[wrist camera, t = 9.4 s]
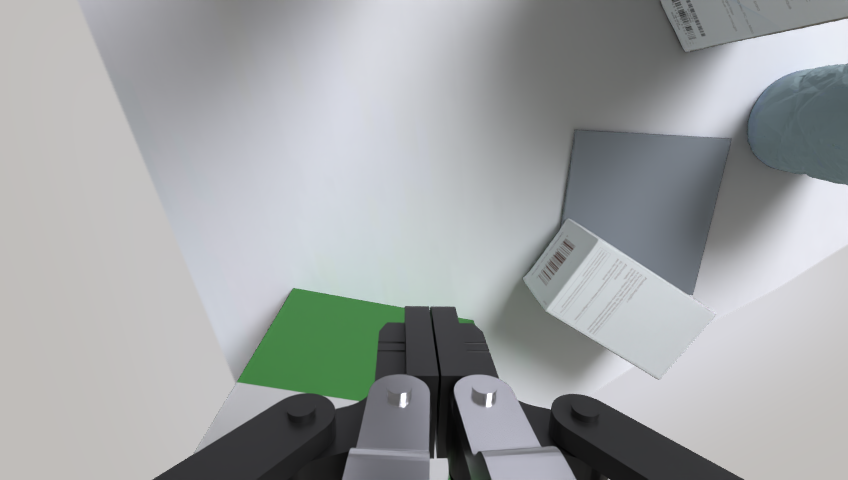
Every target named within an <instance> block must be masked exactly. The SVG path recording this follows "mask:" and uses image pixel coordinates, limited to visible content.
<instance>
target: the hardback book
mask: <svg viewBox="0 0 848 480" xmlns="http://www.w3.org/2000/svg"><path fill="white" fill-rule="evenodd" d="M404 315H405V308H401V307H396V306H390V305H385V304H379V303H374V302H368V301H363V300H357V299H351V298H346V297H340V296H335V295H329V294H324V293H318V292H312V291H307V290H301V289H296V288H293V290H292V291H291V293H290V295H289V296H288V298H287V300H286V301H285V303H284V305H283V306H282V308H281V310H280V311H279V313H278V314H277V316H276V318H275V319H274V321H273V323H272V324H271V326H270V328H269V329H268V331H267V333H266V334H265V336H264V338H263V339H262V341H261V343H260V344H259V346H258V348H257V349H256V351H255V353H254V354H253V356H252V358H251V359H250V361H249V363H248V364H247V366H246V368H245V369H244V371H243V373H242V374H241V376H240V378H239V379H238V381H237V383H236V384H235V386H234V388H233V389H232V391H231V393H230V394H229V396H228V397H227V399H226V401H225V402H224V404H223V406H222V407H221V409H220V411H219V412H218V414H217V416H216V417H215V419H214V421H213V423H212V424H211V426H210V427H209V429H208V431H207V432H206V434H205V436H204V437H203V439H202V441H201V442H200V444H199V446H198V447H197V449H196V451H195V452H194V454H195V453H197V452H198V451H200V450H201V449H203V448H205V447H206V446H208V445H209V444H211V443H213V442H214V441H216V440H218V439H219V438H221V437H222V436H224V435H226V434H227V433H229V432H231V431H232V430H234V429H235V428H237V427H239V426H240V425H242V424H244V423H245V422H247V421H248V420H250V419H252V418H253V417H255V416H257V415H258V414H260V413H261V412H263V411H265V410H266V409H268V408H269V407H271V406H273V405H274V404H276V403H278V402H279V401H281V400H283V399H285V398H287V397H289V396H293V395H296V394H302V393H314V394H319V395H322V396H325V397H327V398H328V399H329V400H331V402H332V403H333V404H334V406H335V409H337V408H341V407H345V406H349V405H352V404H355V403H357V402H359V401H361V400H363V399H364V398H366V397H367V396H368V393H369V390H370V387H371V386H372V384H373V383H374V382H375V371H376V360H377V349H378V337H379V331H380V330H381V328H382V327H383V326H384V325H385V324H386V323H387V322H400V323H404ZM458 320H459V323H473V324H474V321H473V320H468V319H463V318H458ZM474 325H475V324H474ZM448 468H449V467H448V459H447V458H437V456H436V446H435V450H434V459H430V475H429V480H448Z"/></svg>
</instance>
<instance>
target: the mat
mask: <svg viewBox="0 0 848 480" xmlns="http://www.w3.org/2000/svg"><path fill="white" fill-rule="evenodd" d="M730 143H731V139H729V138H712V137H694V136H676V135H659V134H641V133H624V132H606V131H588V130H575V134H574V141H573V148H572V154H571V161H570V168H569V174H568V181H567V188H566V195H565V201H564V208H563V215H562V221H561V227H562V225H563V224H564V222H565V221H566V220H567V219H568V218H569V219H571V220H573V221H575V222H576V223H578V224H579V225H581V226H582V227H584V228H586V229H587V230H589V231H590V232H592V233H593V234H595V235H597V236H598V237H600V238H601V239H603V240H604V241H606V242H607V243H609V244H610V245H612V246H613V247H615V248H616V249H618V250H620V251H621V252H623V253H624V254H626V255H627V256H629V257H630V258H632V259H633V260H635V261H636V262H638V263H639V264H641V265H643V266H644V267H646V268H647V269H649V270H650V271H652V272H653V273H655V274H657V275H658V276H660V277H661V278H663V279H664V280H666V281H667V282H669V283H670V284H672V285H674V286H675V287H677V288H678V289H680V290H681V291H683V292H685V293H686V294H688V295H693V292H694V288H695V284H696V280H697V276H698V272H699V268H700V264H701V260H702V256H703V252H704V248H705V244H706V240H707V236H708V232H709V228H710V224H711V220H712V216H713V212H714V208H715V204H716V200H717V196H718V192H719V188H720V184H721V179H722V175H723V171H724V167H725V163H726V159H727V155H728V151H729V147H730ZM560 229H561V228H560Z"/></svg>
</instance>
